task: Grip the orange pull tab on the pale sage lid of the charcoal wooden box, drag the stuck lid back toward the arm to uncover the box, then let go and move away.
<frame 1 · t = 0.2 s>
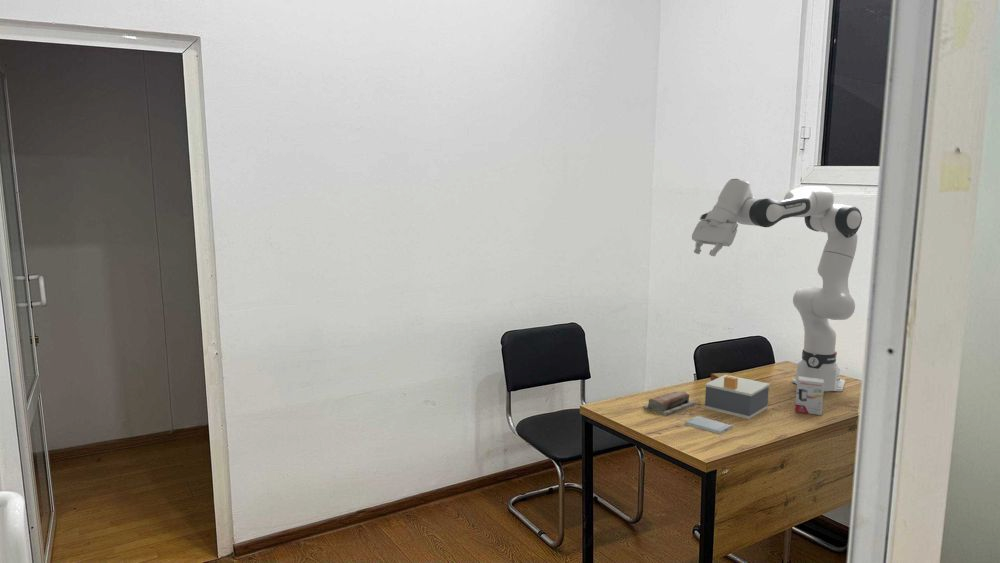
hand: (703, 254, 241), 54 cm above the table, tool tilted 30°, fingers open, 8 cm apart
charcoal box: (736, 408, 240), on the table
carton: (729, 389, 264), on the table
hard drive: (708, 428, 222), on the table
packaged product: (669, 408, 241), on the table
ink box: (808, 412, 237), on the table
lid flap: (737, 380, 239), point 10 cm above the table, slide at 0.0 cm
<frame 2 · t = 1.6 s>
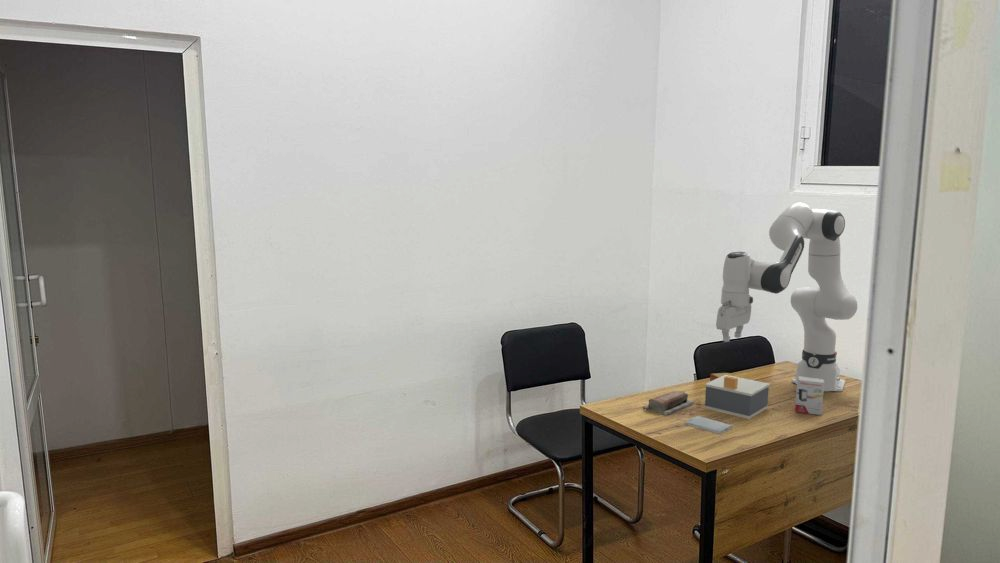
hand: (732, 339, 232), 26 cm above the table, tool pointing down, fingers open, 8 cm apart
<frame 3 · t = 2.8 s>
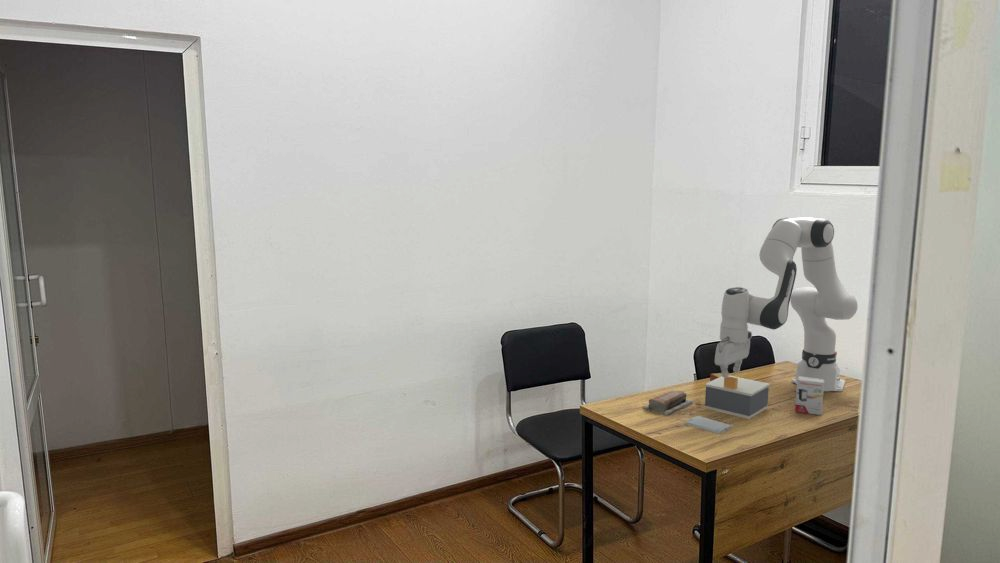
hand: (730, 374, 234), 14 cm above the table, tool pointing down, fingers open, 8 cm apart
nothing on the table moved.
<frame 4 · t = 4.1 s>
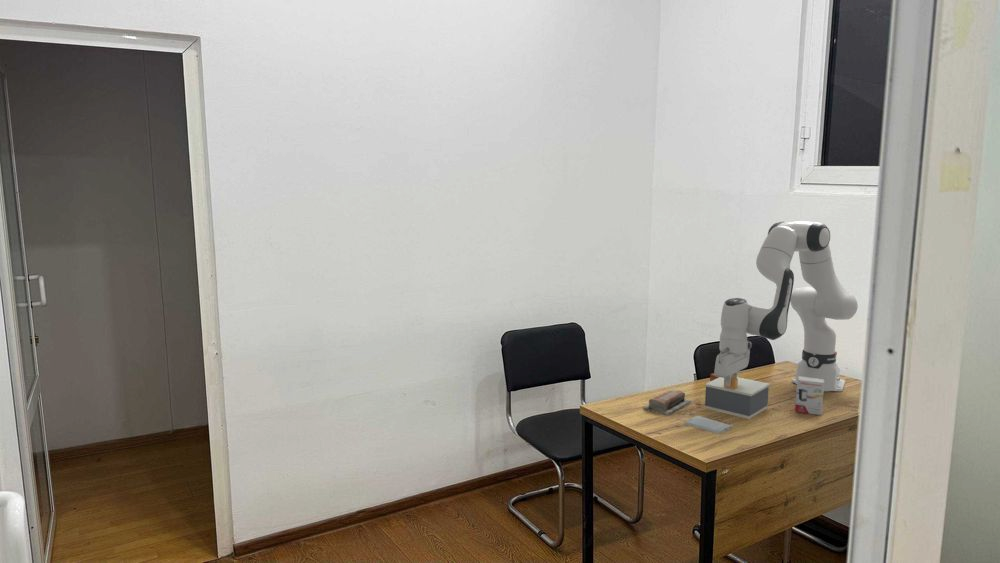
hand: (730, 384, 234), 10 cm above the table, tool pointing down, fingers closed on lid flap, 2 cm apart
lid flap: (737, 380, 239), point 10 cm above the table, slide at 0.0 cm, touching gripper
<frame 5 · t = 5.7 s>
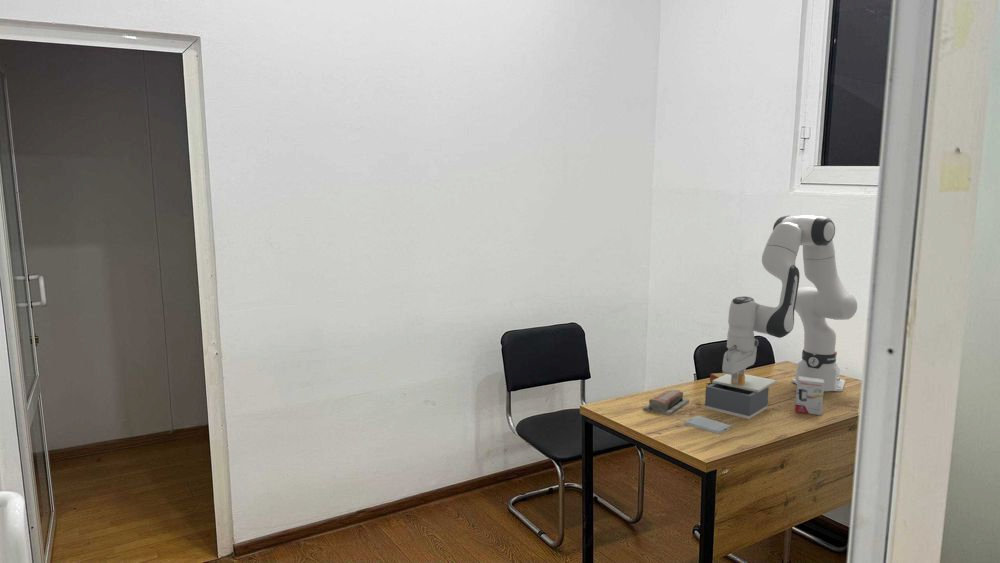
hand: (737, 381, 239), 10 cm above the table, tool pointing down, fingers closed on lid flap, 2 cm apart
lid flap: (744, 376, 243), point 10 cm above the table, slide at 6.0 cm, touching gripper
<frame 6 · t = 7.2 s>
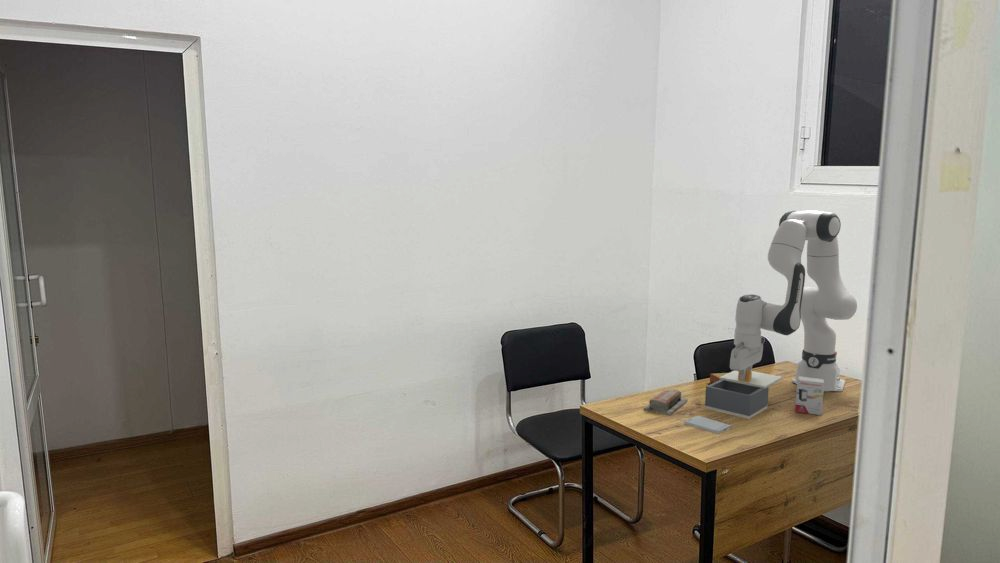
hand: (744, 378, 243), 10 cm above the table, tool pointing down, fingers closed on lid flap, 2 cm apart
lid flap: (751, 373, 248), point 10 cm above the table, slide at 12.0 cm, touching gripper
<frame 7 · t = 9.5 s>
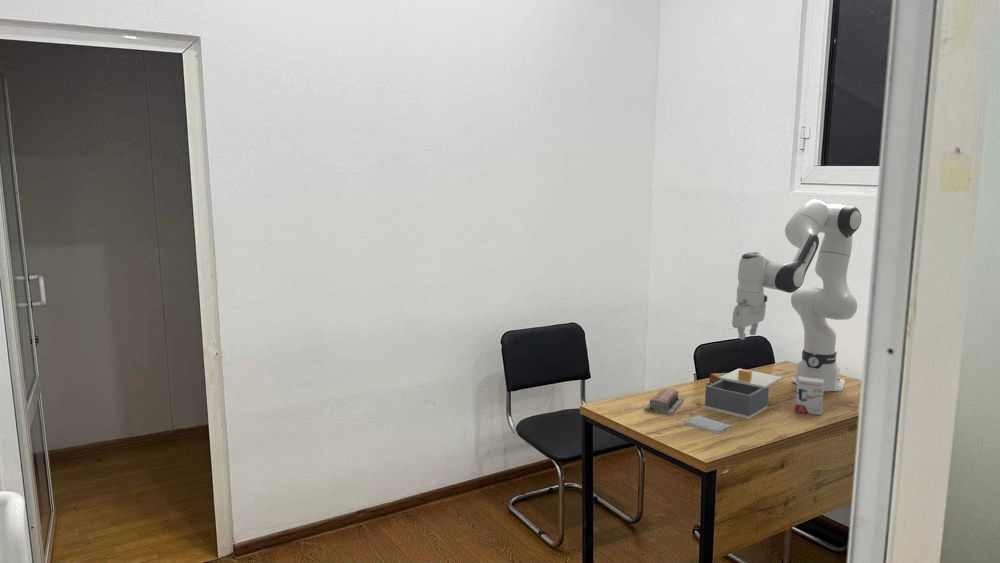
hand: (747, 336, 241), 25 cm above the table, tool pointing down, fingers open, 8 cm apart
lid flap: (751, 373, 248), point 10 cm above the table, slide at 12.1 cm
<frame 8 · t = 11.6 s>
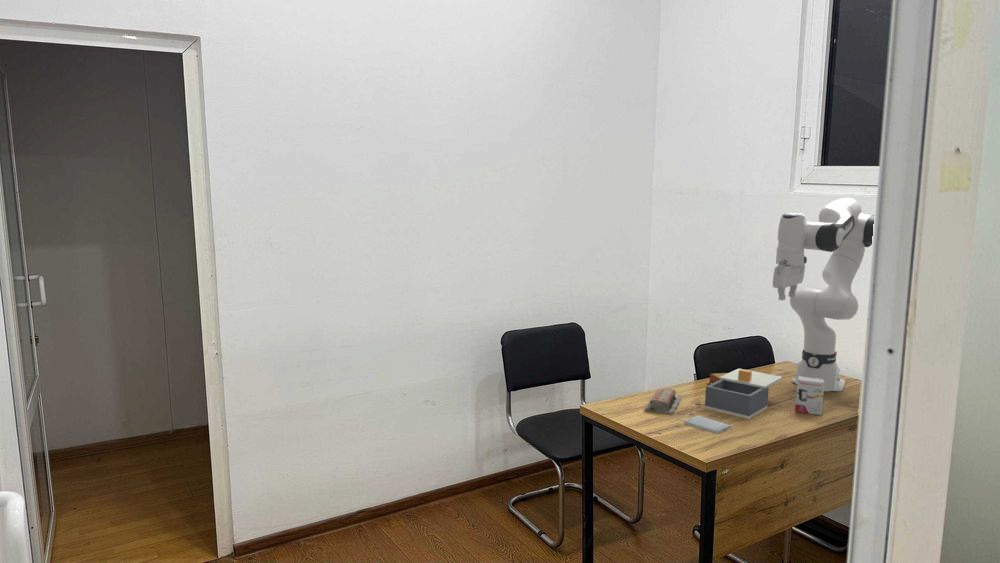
hand: (786, 298, 238), 39 cm above the table, tool pointing down, fingers open, 8 cm apart
at the end: lid flap slide at 12.1 cm; the gripper is holding nothing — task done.
